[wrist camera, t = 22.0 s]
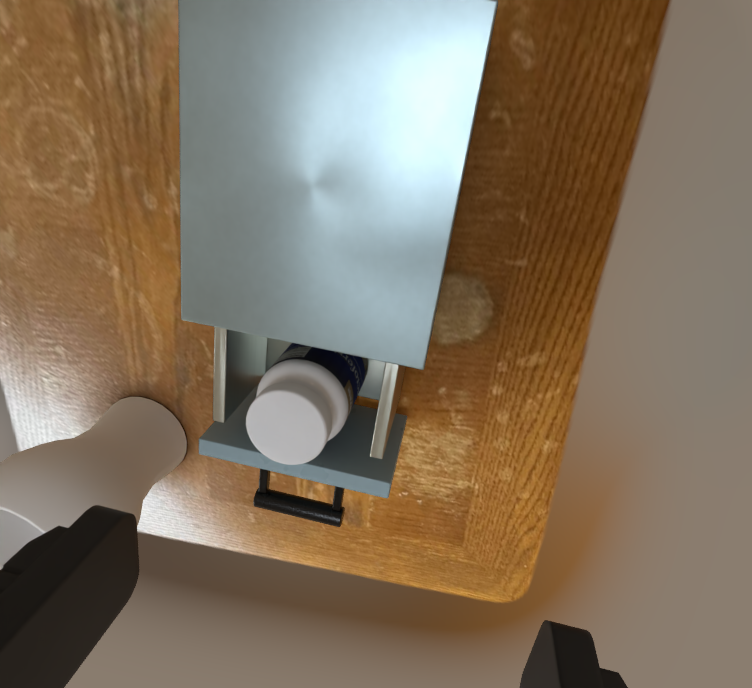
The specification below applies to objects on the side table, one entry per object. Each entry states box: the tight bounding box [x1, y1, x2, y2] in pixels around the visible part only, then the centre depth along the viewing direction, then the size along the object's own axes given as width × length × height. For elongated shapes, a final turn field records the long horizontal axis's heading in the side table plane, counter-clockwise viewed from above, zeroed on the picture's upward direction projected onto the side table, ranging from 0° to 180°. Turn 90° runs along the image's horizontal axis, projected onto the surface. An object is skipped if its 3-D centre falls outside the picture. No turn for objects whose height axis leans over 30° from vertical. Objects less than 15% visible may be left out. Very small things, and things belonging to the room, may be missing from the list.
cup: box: [0, 397, 187, 570], centre depth 39 cm, size 11×11×15 cm
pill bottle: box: [246, 343, 368, 465], centre depth 33 cm, size 6×6×10 cm
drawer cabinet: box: [178, 0, 498, 370], centre depth 29 cm, size 17×14×10 cm
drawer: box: [199, 327, 407, 527], centre depth 35 cm, size 21×13×8 cm, turn 172°
